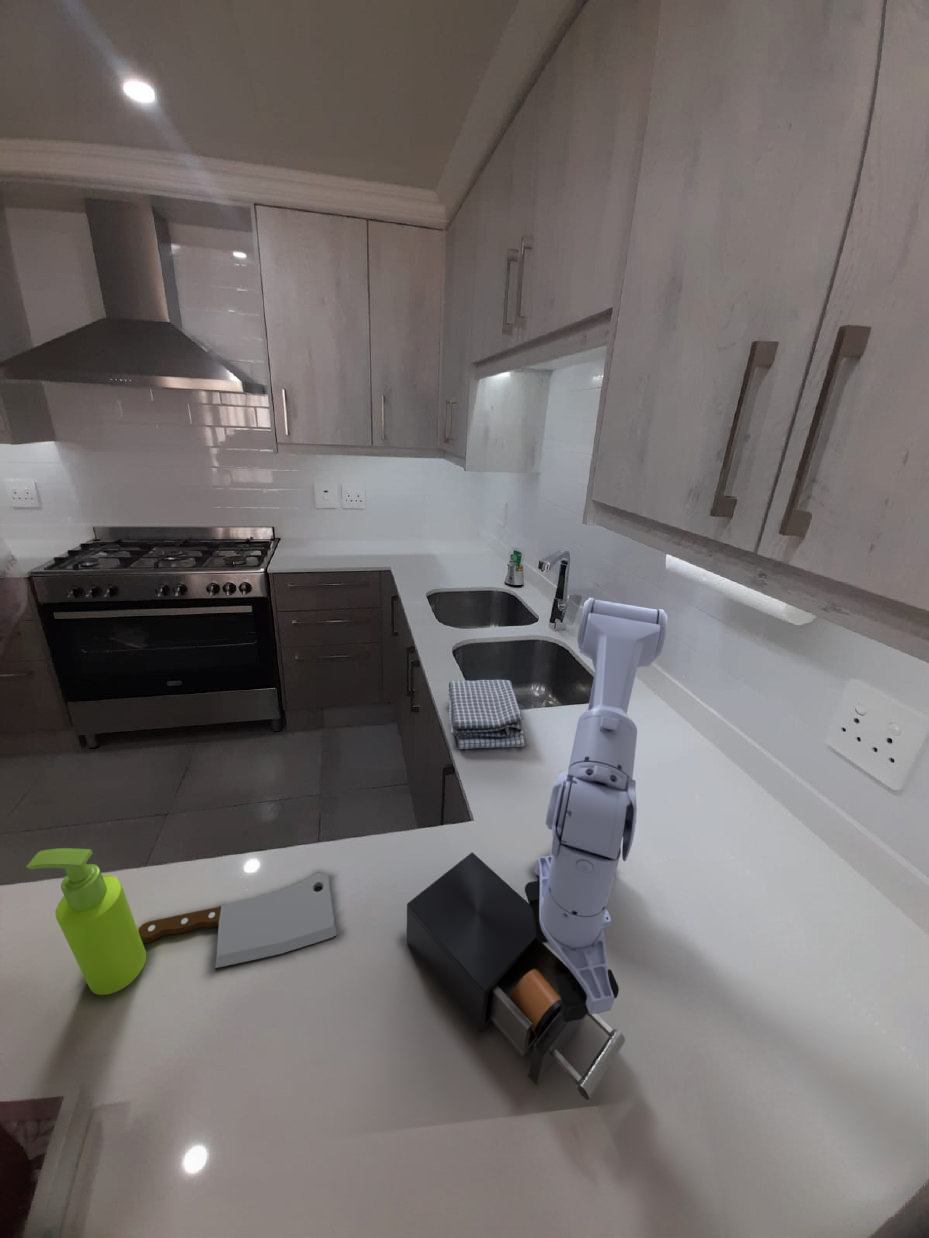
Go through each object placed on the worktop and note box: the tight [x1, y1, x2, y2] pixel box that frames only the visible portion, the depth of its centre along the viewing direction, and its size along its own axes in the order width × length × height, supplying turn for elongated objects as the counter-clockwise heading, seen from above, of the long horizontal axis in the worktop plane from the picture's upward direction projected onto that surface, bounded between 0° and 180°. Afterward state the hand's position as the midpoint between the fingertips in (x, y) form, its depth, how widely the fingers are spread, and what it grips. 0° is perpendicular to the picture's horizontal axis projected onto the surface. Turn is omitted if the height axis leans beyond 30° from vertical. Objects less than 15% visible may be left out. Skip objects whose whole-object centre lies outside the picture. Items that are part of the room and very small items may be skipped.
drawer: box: [486, 940, 626, 1101], centre depth 55 cm, size 17×10×6 cm, turn 44°
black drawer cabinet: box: [406, 851, 537, 1033], centre depth 62 cm, size 14×12×8 cm
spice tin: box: [510, 969, 561, 1040], centre depth 55 cm, size 4×4×4 cm
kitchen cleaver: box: [138, 871, 338, 969], centre depth 64 cm, size 24×1×10 cm
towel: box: [448, 679, 526, 750], centre depth 106 cm, size 15×18×8 cm
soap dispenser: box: [25, 847, 147, 996], centre depth 55 cm, size 6×7×20 cm
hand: (558, 975), depth 52 cm, fingers open, 7 cm apart
